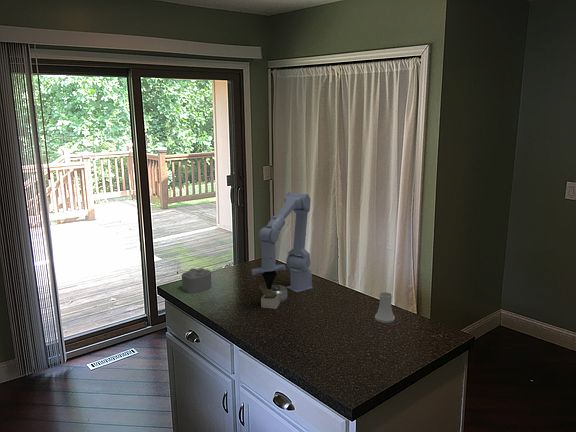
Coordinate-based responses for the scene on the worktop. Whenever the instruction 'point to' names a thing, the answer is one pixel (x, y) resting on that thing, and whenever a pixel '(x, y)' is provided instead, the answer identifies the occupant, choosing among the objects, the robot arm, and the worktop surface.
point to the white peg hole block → (280, 297)
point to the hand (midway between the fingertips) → (269, 288)
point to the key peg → (266, 291)
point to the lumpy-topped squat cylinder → (196, 280)
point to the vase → (385, 309)
